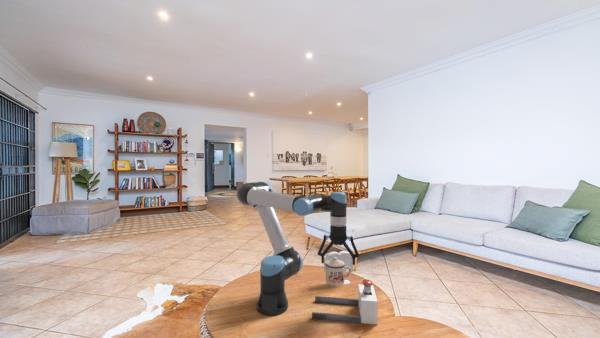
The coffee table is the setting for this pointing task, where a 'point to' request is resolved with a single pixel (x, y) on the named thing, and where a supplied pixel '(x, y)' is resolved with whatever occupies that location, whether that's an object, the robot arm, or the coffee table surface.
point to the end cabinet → (368, 306)
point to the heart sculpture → (341, 259)
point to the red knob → (367, 287)
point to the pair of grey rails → (336, 316)
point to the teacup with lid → (335, 272)
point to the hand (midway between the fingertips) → (338, 270)
